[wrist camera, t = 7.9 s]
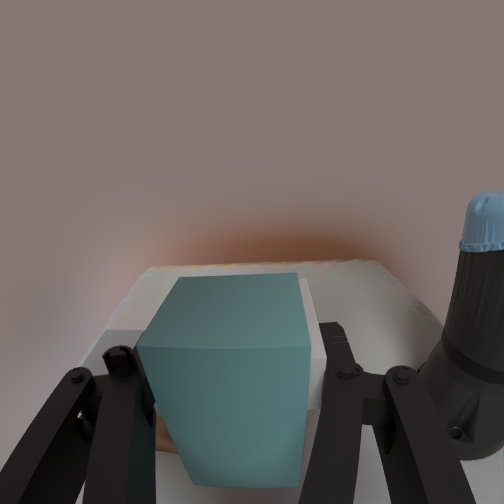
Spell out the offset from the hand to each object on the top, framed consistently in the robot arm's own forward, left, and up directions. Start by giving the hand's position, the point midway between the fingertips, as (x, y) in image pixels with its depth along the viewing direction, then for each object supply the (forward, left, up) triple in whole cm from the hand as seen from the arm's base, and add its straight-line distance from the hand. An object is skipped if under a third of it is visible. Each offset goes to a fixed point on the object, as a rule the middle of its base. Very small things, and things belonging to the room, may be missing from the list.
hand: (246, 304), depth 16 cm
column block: (0, +5, -6) cm, 8 cm away
